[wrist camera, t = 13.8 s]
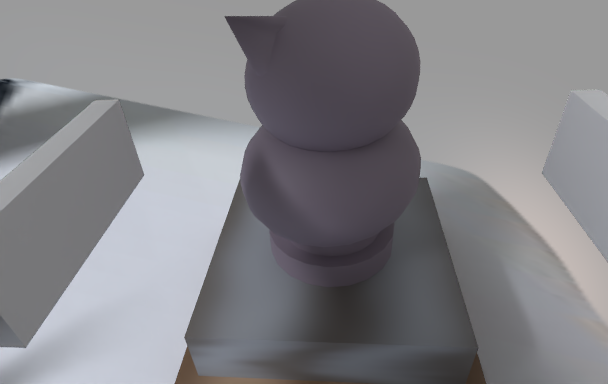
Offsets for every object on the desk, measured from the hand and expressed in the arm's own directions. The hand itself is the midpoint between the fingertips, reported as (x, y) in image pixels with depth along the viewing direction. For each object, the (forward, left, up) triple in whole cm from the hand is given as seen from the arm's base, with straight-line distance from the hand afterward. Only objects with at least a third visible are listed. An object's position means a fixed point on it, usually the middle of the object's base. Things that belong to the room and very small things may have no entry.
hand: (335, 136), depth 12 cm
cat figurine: (0, +5, -9) cm, 10 cm away
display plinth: (0, +5, -13) cm, 14 cm away
